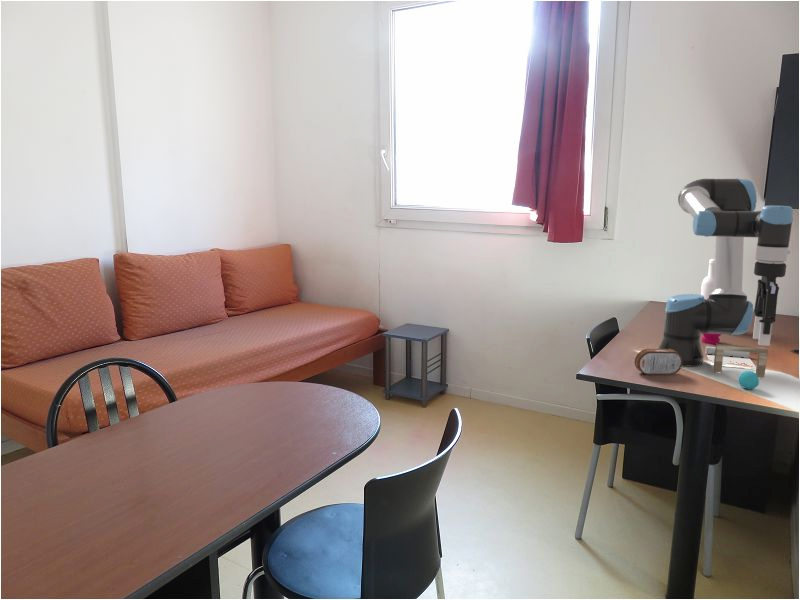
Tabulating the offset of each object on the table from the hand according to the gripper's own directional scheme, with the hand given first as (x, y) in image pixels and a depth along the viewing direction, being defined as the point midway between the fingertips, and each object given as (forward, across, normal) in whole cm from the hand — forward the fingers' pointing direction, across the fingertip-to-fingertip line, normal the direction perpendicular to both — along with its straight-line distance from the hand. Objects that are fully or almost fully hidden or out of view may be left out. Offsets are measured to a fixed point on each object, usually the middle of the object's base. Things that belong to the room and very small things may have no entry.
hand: (760, 341), depth 174 cm
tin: (+17, +16, +25) cm, 34 cm away
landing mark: (+17, +40, 0) cm, 43 cm away
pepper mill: (+17, +68, +3) cm, 71 cm away
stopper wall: (+17, +49, 0) cm, 52 cm away
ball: (+14, +10, 0) cm, 17 cm away
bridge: (+17, +26, 0) cm, 31 cm away
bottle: (+17, +96, +1) cm, 97 cm away
